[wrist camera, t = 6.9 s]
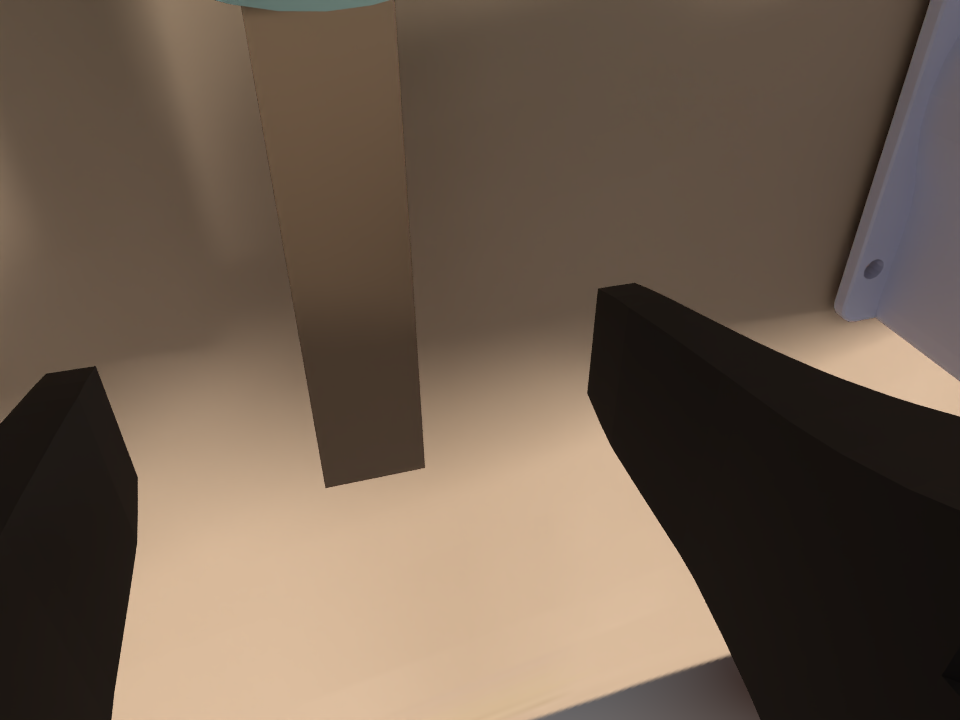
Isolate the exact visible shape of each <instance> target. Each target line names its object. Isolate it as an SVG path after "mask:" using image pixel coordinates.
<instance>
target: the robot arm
mask: <svg viewBox="0 0 960 720" xmlns="http://www.w3.org/2000/svg"><path fill="white" fill-rule="evenodd" d="M868 264H869V266H867V265H868ZM834 309H835V312H836V313H837V314H838V315H840V316H841V317H842V318H843V319H845V320H847V321H860V320H865V319H870V318H876V319H878V320H879V321H880V322H882V323H883V324H884V325H886V326H887V327H888V328H890V329H891V330H892V331H894V332H895V333H896V334H898V335H899V336H900V337H902V338H903V339H904V340H906V341H907V342H908V343H910V344H911V345H912V346H914V347H915V348H916V349H918V350H919V351H920V352H922V353H923V354H924V355H925V356H927V357H928V358H929V359H931V360H932V361H933V362H935V363H936V364H937V365H939V366H940V367H941V368H943V369H944V370H945V371H947V372H948V373H949V374H951V375H952V376H953V377H955V378H956V379H957V380H959V381H960V0H930V3H929V6H928V9H927V13H926V16H925V19H924V22H923V25H922V28H921V31H920V35H919V38H918V41H917V44H916V47H915V50H914V53H913V57H912V60H911V63H910V66H909V69H908V72H907V75H906V79H905V82H904V85H903V88H902V91H901V94H900V97H899V101H898V104H897V107H896V110H895V113H894V116H893V119H892V123H891V126H890V129H889V132H888V135H887V138H886V141H885V145H884V148H883V151H882V154H881V157H880V160H879V163H878V167H877V170H876V173H875V176H874V179H873V182H872V186H871V189H870V192H869V195H868V198H867V201H866V204H865V208H864V211H863V214H862V217H861V220H860V223H859V226H858V230H857V233H856V236H855V239H854V242H853V245H852V248H851V252H850V255H849V258H848V261H847V264H846V267H845V270H844V274H843V277H842V280H841V283H840V286H839V289H838V292H837V296H836V299H835V303H834ZM587 394H588V396H589V398H590V401H591V403H592V405H593V408H594V410H595V412H596V415H597V417H598V419H599V422H600V424H601V426H602V428H603V430H604V432H605V434H606V436H607V439H608V441H609V443H610V445H611V447H612V448H613V450H614V452H615V453H616V455H617V457H618V458H619V460H620V461H621V463H622V465H623V466H624V468H625V469H626V471H627V472H628V474H629V476H630V477H631V479H632V480H633V482H634V484H635V485H636V487H637V488H638V490H639V491H640V493H641V495H642V496H643V498H644V499H645V501H646V502H647V504H648V505H649V507H650V509H651V510H652V512H653V513H654V515H655V516H656V518H657V519H658V521H659V523H660V524H661V526H662V527H663V529H664V530H665V532H666V533H667V535H668V537H669V538H670V540H671V541H672V543H673V544H674V546H675V548H676V549H677V551H678V552H679V554H680V555H681V557H682V559H683V561H684V562H685V564H686V566H687V567H688V569H689V571H690V573H691V574H692V576H693V578H694V580H695V581H696V583H697V585H698V587H699V589H700V591H701V593H702V595H703V597H704V599H705V602H706V604H707V606H708V608H709V610H710V612H711V614H712V616H713V618H714V620H715V622H716V624H717V626H718V628H719V630H720V632H721V634H722V636H723V638H724V640H725V642H726V644H727V647H728V649H729V651H730V653H731V655H732V657H733V659H734V662H735V664H736V666H737V668H738V670H739V672H740V675H741V676H742V679H743V681H744V683H745V685H746V687H747V689H748V692H749V694H750V696H751V699H752V701H753V703H754V705H755V708H756V710H757V712H758V715H759V717H760V719H761V720H960V417H959V416H956V415H952V414H949V413H945V412H942V411H938V410H934V409H931V408H927V407H924V406H920V405H917V404H914V403H911V402H907V401H904V400H901V399H898V398H895V397H892V396H889V395H886V394H883V393H880V392H877V391H874V390H872V389H869V388H866V387H863V386H860V385H858V384H855V383H852V382H849V381H846V380H844V379H841V378H838V377H836V376H833V375H831V374H828V373H826V372H823V371H821V370H818V369H816V368H814V367H811V366H809V365H807V364H804V363H802V362H800V361H797V360H795V359H793V358H791V357H788V356H786V355H784V354H781V353H779V352H777V351H775V350H773V349H770V348H768V347H766V346H764V345H762V344H760V343H758V342H755V341H753V340H751V339H749V338H747V337H745V336H743V335H741V334H739V333H737V332H735V331H733V330H731V329H729V328H727V327H725V326H723V325H721V324H719V323H717V322H715V321H713V320H711V319H709V318H707V317H705V316H703V315H701V314H699V313H697V312H695V311H693V310H691V309H689V308H687V307H685V306H683V305H681V304H679V303H677V302H676V301H673V300H671V299H669V298H667V297H665V296H663V295H661V294H659V293H657V292H655V291H653V290H650V289H648V288H646V287H643V286H641V285H638V284H636V283H631V284H625V285H618V286H612V287H605V288H599V289H598V294H597V304H596V314H595V323H594V333H593V343H592V353H591V363H590V372H589V382H588V392H587ZM137 524H138V477H137V474H136V472H135V469H134V466H133V464H132V461H131V458H130V456H129V453H128V450H127V448H126V445H125V443H124V440H123V437H122V435H121V432H120V429H119V427H118V424H117V421H116V419H115V416H114V413H113V411H112V408H111V405H110V403H109V400H108V397H107V395H106V392H105V389H104V387H103V384H102V381H101V379H100V376H99V374H98V371H97V368H96V366H94V367H87V368H81V369H74V370H68V371H61V372H55V373H48V374H46V375H45V376H44V377H43V378H42V379H41V380H40V381H39V382H38V383H37V384H36V385H35V386H34V387H33V388H32V389H31V390H30V391H29V392H28V393H27V395H26V396H25V397H24V398H23V399H22V400H21V401H20V402H19V404H18V405H17V406H16V407H15V408H14V409H13V410H12V411H11V413H10V414H9V415H8V416H7V417H6V418H5V419H4V420H3V422H2V423H1V424H0V720H111V718H112V709H113V699H114V691H115V685H116V678H117V672H118V665H119V659H120V652H121V646H122V640H123V633H124V627H125V620H126V614H127V607H128V601H129V595H130V588H131V581H132V574H133V568H134V561H135V554H136V546H137Z"/></svg>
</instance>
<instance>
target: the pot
mask: <svg viewBox="0 0 960 720" xmlns="http://www.w3.org/2000/svg"><path fill="white" fill-rule="evenodd" d="M216 1H220V2H224V3H227V4H232V5H239V6H241V8H242V14H243V20H244V25H245V31H246V37H247V42H248V48H249V54H250V60H251V65H252V71H253V77H254V82H255V88H256V94H257V100H258V105H259V111H260V117H261V122H262V128H263V134H264V139H265V145H266V151H267V157H268V162H269V168H270V174H271V179H272V185H273V191H274V197H275V202H276V208H277V214H278V219H279V225H280V231H281V237H282V242H283V248H284V254H285V259H286V265H287V271H288V277H289V282H290V288H291V294H292V299H293V305H294V311H295V316H296V322H297V328H298V334H299V339H300V345H301V351H302V356H303V362H304V368H305V374H306V379H307V385H308V391H309V396H310V402H311V408H312V414H313V419H314V425H315V431H316V436H317V442H318V448H319V454H320V459H321V465H322V471H323V476H324V482H325V488H328V487H333V486H338V485H343V484H348V483H353V482H358V481H363V480H368V479H372V478H377V477H382V476H387V475H392V474H397V473H402V472H407V471H412V470H417V469H421V468H425V461H424V446H423V430H422V415H421V400H420V384H419V369H418V353H417V338H416V322H415V307H414V292H413V276H412V261H411V245H410V230H409V214H408V199H407V184H406V168H405V153H404V137H403V122H402V106H401V91H400V76H399V60H398V45H397V29H396V14H395V0H216Z"/></svg>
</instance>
